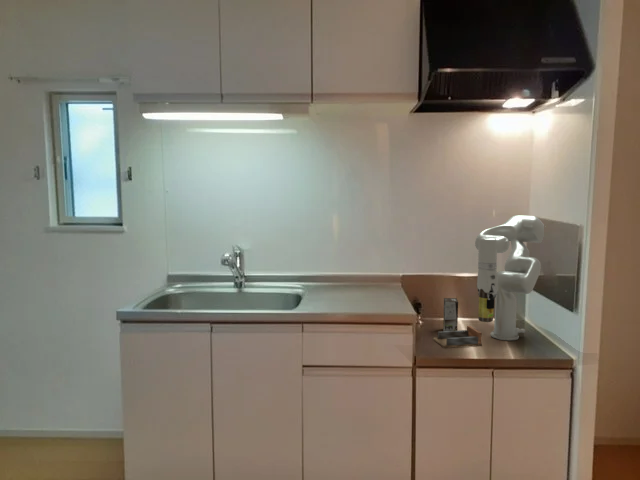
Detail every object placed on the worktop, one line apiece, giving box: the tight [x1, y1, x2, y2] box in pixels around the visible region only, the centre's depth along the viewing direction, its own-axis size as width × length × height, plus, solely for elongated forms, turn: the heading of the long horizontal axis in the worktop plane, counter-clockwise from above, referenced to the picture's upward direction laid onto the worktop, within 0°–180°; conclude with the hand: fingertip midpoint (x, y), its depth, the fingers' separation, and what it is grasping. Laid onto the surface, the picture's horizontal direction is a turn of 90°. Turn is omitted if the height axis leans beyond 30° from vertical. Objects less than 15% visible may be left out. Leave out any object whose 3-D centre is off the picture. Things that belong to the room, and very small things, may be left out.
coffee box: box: [442, 297, 459, 331], centre depth 233 cm, size 9×6×16 cm
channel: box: [432, 325, 483, 349], centre depth 218 cm, size 18×12×6 cm, turn 99°
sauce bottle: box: [477, 289, 495, 323], centre depth 207 cm, size 6×6×20 cm
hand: (486, 306), depth 208 cm, fingers closed on sauce bottle, 6 cm apart
